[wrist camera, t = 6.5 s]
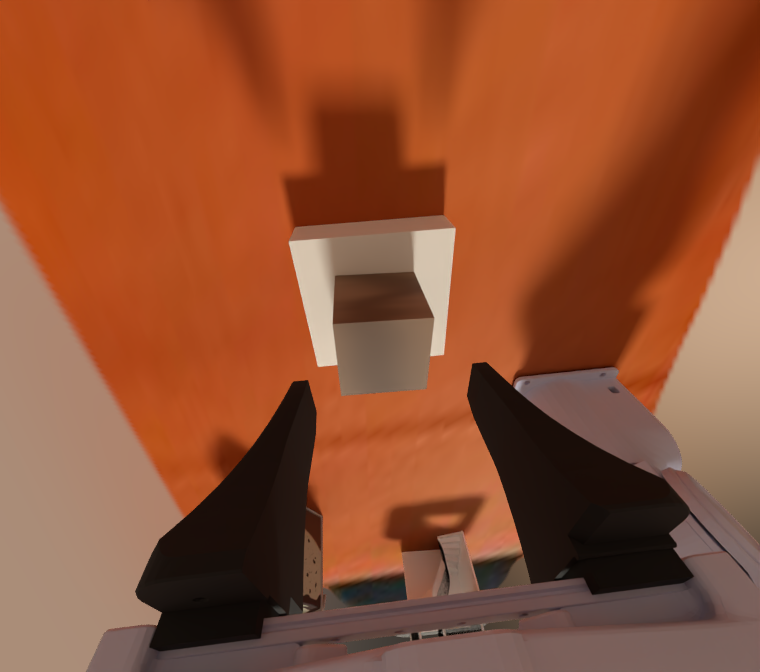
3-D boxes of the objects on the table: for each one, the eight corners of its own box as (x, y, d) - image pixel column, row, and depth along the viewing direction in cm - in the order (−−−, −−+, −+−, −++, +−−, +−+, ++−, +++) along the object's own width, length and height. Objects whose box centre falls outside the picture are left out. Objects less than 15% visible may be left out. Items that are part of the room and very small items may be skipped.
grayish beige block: (413, 271, 18) (434, 317, 14) (410, 335, 21) (426, 389, 17) (334, 275, 17) (332, 324, 13) (341, 339, 20) (341, 395, 16)
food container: (223, 500, 36) (188, 613, 28) (263, 483, 34) (238, 596, 26) (293, 533, 42) (281, 631, 34) (329, 519, 41) (325, 618, 33)
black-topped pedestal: (542, 494, 43) (607, 620, 32) (488, 562, 58) (520, 663, 48) (343, 504, 40) (342, 648, 29) (341, 574, 55) (340, 685, 44)
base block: (441, 213, 19) (455, 227, 16) (434, 330, 24) (443, 354, 22) (296, 224, 19) (288, 241, 16) (321, 341, 24) (318, 366, 22)
